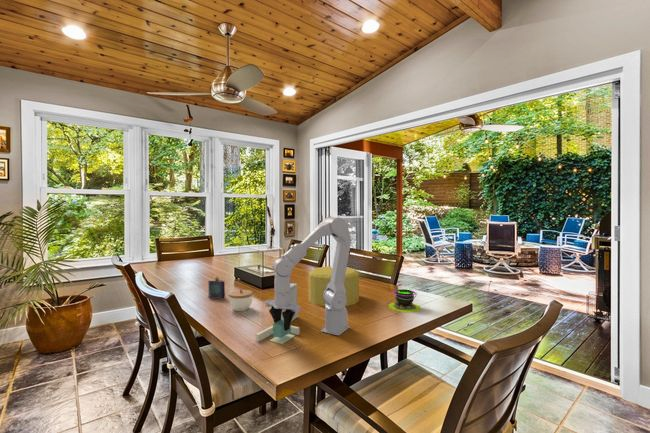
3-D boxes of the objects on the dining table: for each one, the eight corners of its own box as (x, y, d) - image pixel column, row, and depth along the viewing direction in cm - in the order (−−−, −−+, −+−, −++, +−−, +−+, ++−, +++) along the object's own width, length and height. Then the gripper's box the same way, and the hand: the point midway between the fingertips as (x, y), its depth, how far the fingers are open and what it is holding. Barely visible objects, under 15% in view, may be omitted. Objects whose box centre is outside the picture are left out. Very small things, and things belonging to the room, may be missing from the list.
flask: (207, 297, 170) (207, 277, 170) (210, 295, 173) (210, 276, 173) (223, 298, 168) (223, 278, 168) (226, 297, 171) (226, 277, 170)
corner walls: (277, 328, 127) (277, 322, 127) (299, 333, 122) (299, 327, 122) (255, 340, 116) (255, 333, 116) (278, 347, 111) (278, 339, 111)
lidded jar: (257, 307, 153) (257, 288, 153) (241, 314, 144) (241, 293, 143) (240, 304, 158) (240, 285, 158) (224, 310, 149) (223, 290, 149)
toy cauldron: (395, 313, 146) (395, 289, 145) (384, 303, 161) (384, 281, 160) (426, 311, 148) (426, 287, 148) (412, 301, 163) (413, 280, 163)
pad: (283, 333, 123) (283, 332, 123) (295, 336, 120) (295, 335, 120) (269, 340, 116) (269, 340, 116) (282, 344, 113) (281, 343, 113)
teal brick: (283, 330, 121) (283, 318, 121) (290, 332, 120) (290, 320, 119) (273, 336, 116) (273, 323, 116) (280, 338, 114) (280, 325, 114)
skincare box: (290, 323, 133) (290, 287, 132) (277, 322, 135) (277, 286, 134) (298, 316, 141) (298, 283, 140) (285, 315, 143) (285, 282, 142)
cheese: (343, 290, 185) (343, 264, 184) (368, 302, 161) (369, 273, 161) (301, 295, 174) (301, 268, 173) (321, 310, 150) (321, 278, 150)
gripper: (259, 291, 117) (259, 328, 118) (292, 297, 110) (292, 336, 111) (272, 287, 124) (272, 322, 124) (303, 292, 116) (303, 329, 117)
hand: (282, 328), depth 118 cm, fingers closed on teal brick, 3 cm apart
